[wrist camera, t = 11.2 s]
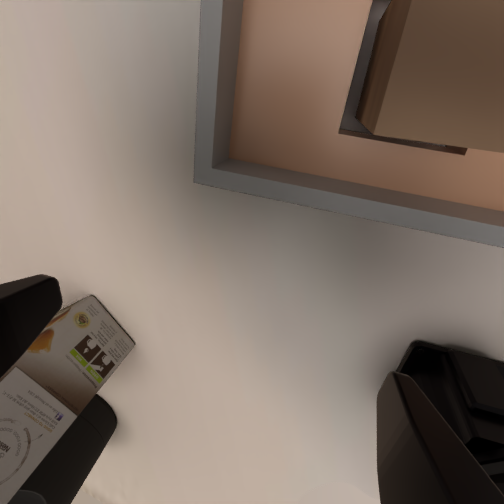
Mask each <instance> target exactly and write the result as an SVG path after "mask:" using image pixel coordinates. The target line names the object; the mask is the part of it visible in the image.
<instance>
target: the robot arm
mask: <svg viewBox="0 0 504 504" xmlns="http://www.w3.org/2000/svg"><path fill="white" fill-rule="evenodd" d="M62 302H63V300H62V295H61V291H60V286H59V282H58V280H57V279H56V278H54V277H51V276H48V275H43V274H40V275H35V276H31V277H28V278H24V279H20V280H16V281H12V282H8V283H4V284H0V379H1V378H2V377H3V375H4V374H5V373H6V372H7V371H8V370H9V369H10V368H11V367H12V366H13V365H14V364H15V363H16V362H17V361H18V360H19V359H20V358H21V356H22V355H23V354H24V353H25V352H26V351H27V349H28V348H29V347H30V346H31V345H32V343H33V342H34V341H35V340H36V338H37V337H38V336H39V335H40V333H41V332H42V331H43V330H44V328H45V327H46V326H47V325H48V324H49V322H50V321H51V320H52V319H53V317H54V316H55V315H56V314H57V312H58V311H59V310H60V308H61V306H62ZM417 349H421V350H417ZM377 472H378V484H379V493H380V502H381V504H504V363H501V362H497V361H493V360H490V359H486V358H482V357H478V356H474V355H470V354H466V353H463V352H459V351H455V350H451V349H447V348H443V347H439V346H436V345H432V344H428V343H424V342H414V343H413V344H412V345H411V346H410V348H409V350H408V352H407V353H406V355H405V357H404V359H403V361H402V362H401V364H400V366H399V368H398V370H397V372H395V371H392V372H390V373H389V374H388V376H387V378H386V379H385V381H384V383H383V385H382V387H381V389H380V391H379V393H378V396H377Z"/></svg>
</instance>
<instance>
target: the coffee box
mask: <svg viewBox="0 0 504 504" xmlns="http://www.w3.org/2000/svg"><path fill="white" fill-rule="evenodd" d="M134 345H135V344H134V343H133V341H132V340H131V339H130V338H129V337H128V336H127V334H126V333H125V332H124V331H123V330H122V329H121V328H120V326H119V325H118V324H117V323H116V322H115V321H114V319H113V318H112V317H111V316H110V315H109V314H108V312H107V311H106V310H105V309H104V308H103V307H102V306H101V304H100V303H99V302H98V301H97V299H96V298H95V297H93V296H89V297H87V298H84V299H82V300H80V301H78V302H76V303H74V304H72V305H70V306H68V307H66V308H64V309H62V310H60V311H58V312H57V314H56V315H55V316H54V317H53V319H52V320H51V321H50V322H49V324H48V325H47V326H46V327H45V328H44V330H43V331H42V332H41V333H40V335H39V336H38V337H37V338H36V340H35V341H34V342H33V343H32V345H31V346H30V347H29V348H28V349H27V351H26V352H25V353H24V354H23V355H22V356H21V358H20V359H19V360H18V361H17V362H16V363H15V364H14V365H13V366H12V367H11V368H10V369H9V370H8V371H7V372H6V373H5V374H4V375H3V377H2V378H1V379H0V504H8V503H9V501H10V500H11V499H12V498H13V496H14V495H15V494H16V493H17V491H18V490H19V489H20V488H21V486H22V485H23V484H24V483H25V481H26V480H27V479H28V478H29V476H30V475H31V474H32V473H33V472H34V470H35V469H36V468H37V467H38V465H39V464H40V463H41V461H42V460H43V459H44V458H45V456H46V455H47V454H48V453H49V451H50V450H51V449H52V448H53V447H54V445H55V444H56V443H57V442H58V440H59V439H60V438H61V437H62V435H63V434H64V433H65V432H66V431H67V429H68V428H69V427H70V426H71V424H72V423H73V422H74V421H75V419H76V418H77V417H78V415H79V414H80V413H81V412H82V410H83V409H84V408H85V407H86V405H87V404H88V403H89V402H90V401H91V399H92V398H93V397H94V396H95V394H96V393H97V392H98V390H99V389H100V388H101V387H102V386H103V384H104V383H105V382H106V381H107V379H108V378H109V377H110V376H111V374H112V373H113V372H114V371H115V369H116V368H117V367H118V366H119V365H120V363H121V362H122V361H123V359H124V358H125V357H126V356H127V355H128V353H129V352H130V351H131V350H132V348H133V347H134Z"/></svg>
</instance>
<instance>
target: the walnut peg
mask: <svg viewBox="0 0 504 504" xmlns="http://www.w3.org/2000/svg"><path fill="white" fill-rule="evenodd" d="M355 118H356V119H357V120H358V121H359V122H361V123H362V124H363V125H364V126H365V127H366V128H367V129H368V130H369V131H370V132H371V133H372V134H373V135H378V136H385V137H392V138H399V139H407V140H414V141H421V142H428V143H435V144H443V145H450V146H457V147H464V148H471V149H478V150H486V151H493V152H500V153H504V0H392V1H391V3H390V4H389V6H388V8H387V9H386V11H385V12H384V14H383V16H382V17H381V19H380V21H379V25H378V29H377V33H376V37H375V41H374V44H373V48H372V52H371V56H370V60H369V64H368V68H367V72H366V76H365V80H364V84H363V88H362V92H361V96H360V100H359V104H358V108H357V112H356V116H355Z"/></svg>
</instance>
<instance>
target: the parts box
mask: <svg viewBox="0 0 504 504" xmlns="http://www.w3.org/2000/svg"><path fill="white" fill-rule="evenodd" d="M371 4H372V0H201V11H200V36H199V60H198V85H197V110H196V135H195V160H194V183H198V184H202V185H207V186H212V187H217V188H221V189H226V190H231V191H236V192H240V193H245V194H250V195H255V196H259V197H264V198H269V199H274V200H278V201H283V202H288V203H293V204H297V205H302V206H307V207H312V208H317V209H321V210H326V211H331V212H336V213H340V214H345V215H350V216H355V217H359V218H364V219H369V220H374V221H378V222H383V223H388V224H393V225H397V226H402V227H407V228H412V229H417V230H421V231H426V232H431V233H436V234H440V235H445V236H450V237H455V238H459V239H464V240H469V241H474V242H478V243H483V244H488V245H493V246H497V247H502V248H504V153H500V152H493V151H486V150H478V149H471V148H464V147H457V146H450V145H446V147H442V146H437V145H431V144H425V143H419V142H413V141H407V140H401V139H396V138H390V137H384V136H378V135H372V134H366V133H360V132H355V131H349V130H343V129H339V127H340V124H341V120H342V116H343V112H344V108H345V104H346V100H347V97H348V93H349V89H350V85H351V81H352V77H353V74H354V70H355V66H356V62H357V58H358V54H359V50H360V47H361V43H362V39H363V35H364V31H365V27H366V23H367V20H368V16H369V12H370V8H371Z"/></svg>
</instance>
